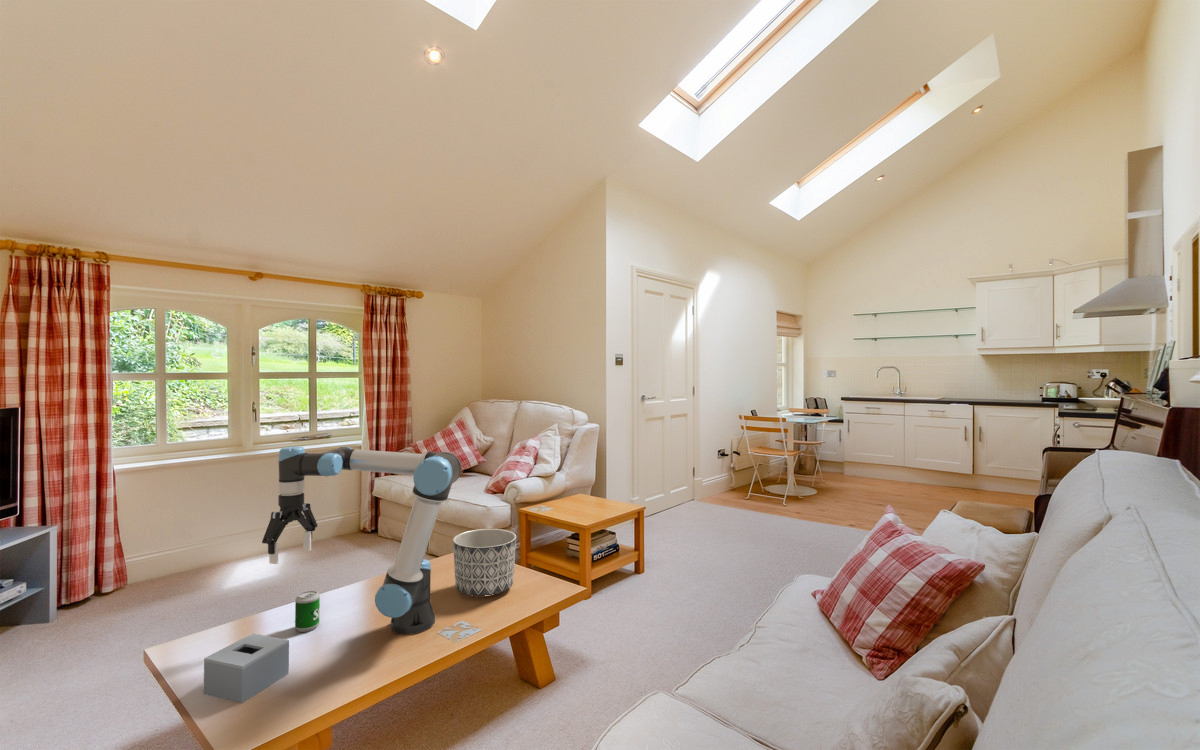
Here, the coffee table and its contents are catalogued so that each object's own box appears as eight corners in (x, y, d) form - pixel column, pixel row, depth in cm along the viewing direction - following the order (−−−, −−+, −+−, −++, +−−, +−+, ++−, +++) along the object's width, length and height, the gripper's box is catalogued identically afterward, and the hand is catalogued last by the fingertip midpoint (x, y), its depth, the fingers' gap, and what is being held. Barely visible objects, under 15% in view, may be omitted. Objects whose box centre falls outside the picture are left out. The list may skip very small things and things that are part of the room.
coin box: (288, 673, 159) (289, 640, 159) (242, 703, 144) (242, 666, 144) (252, 666, 163) (252, 633, 163) (203, 694, 148) (204, 658, 148)
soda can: (308, 634, 183) (309, 599, 183) (289, 631, 184) (290, 597, 184) (324, 624, 190) (324, 590, 190) (306, 622, 192) (306, 589, 192)
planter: (467, 576, 237) (467, 527, 237) (523, 579, 234) (523, 530, 234) (441, 600, 211) (442, 545, 211) (504, 605, 208) (505, 549, 208)
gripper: (311, 485, 191) (311, 544, 191) (249, 500, 167) (248, 568, 167) (328, 486, 189) (328, 546, 189) (268, 502, 165) (267, 570, 165)
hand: (291, 556), depth 178 cm, fingers open, 13 cm apart
